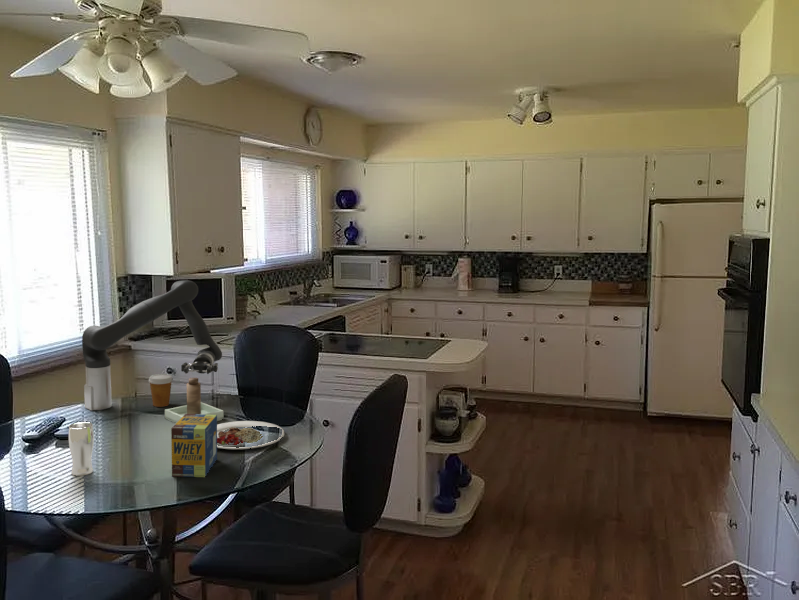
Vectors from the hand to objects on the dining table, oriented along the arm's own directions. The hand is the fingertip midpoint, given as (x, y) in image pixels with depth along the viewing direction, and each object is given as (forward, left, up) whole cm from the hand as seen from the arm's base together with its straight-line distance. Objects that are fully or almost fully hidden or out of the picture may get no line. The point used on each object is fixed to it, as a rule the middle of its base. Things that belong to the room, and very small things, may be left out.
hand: (196, 371), depth 276 cm
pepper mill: (-8, -11, -15) cm, 20 cm away
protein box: (-34, -56, -16) cm, 67 cm away
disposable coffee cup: (-8, +15, -16) cm, 23 cm away
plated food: (-7, -42, -16) cm, 45 cm away
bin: (-8, -11, -16) cm, 21 cm away
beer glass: (-61, -36, -16) cm, 72 cm away
